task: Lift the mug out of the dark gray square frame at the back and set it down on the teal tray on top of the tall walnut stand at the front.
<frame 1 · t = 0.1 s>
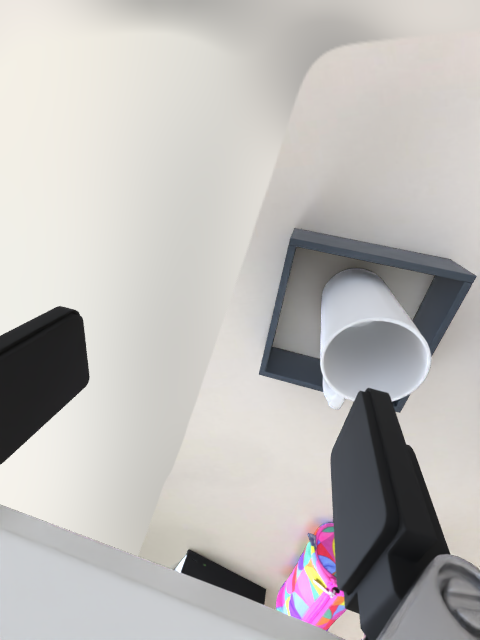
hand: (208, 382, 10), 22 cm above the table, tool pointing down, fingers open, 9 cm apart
dark gray square frame: (345, 310, 31), on the table
pencil case: (319, 551, 50), on the table
disc drive: (208, 586, 65), on the table
mug: (345, 309, 31), resting in dark gray square frame
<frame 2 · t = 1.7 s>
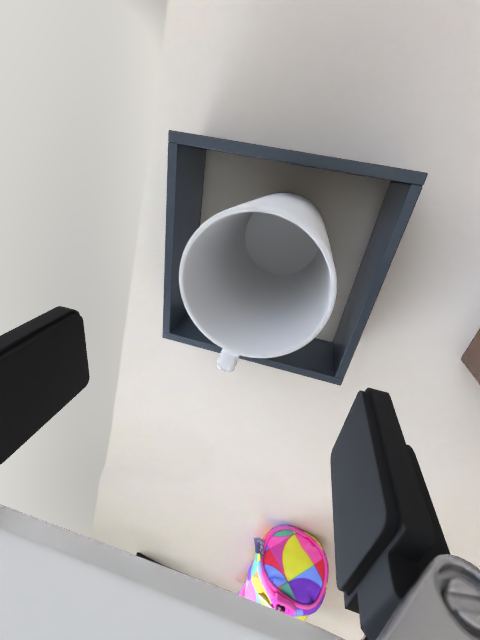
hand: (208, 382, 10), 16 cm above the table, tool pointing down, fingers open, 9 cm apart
dark gray square frame: (275, 255, 24), on the table
pencil case: (276, 557, 44), on the table
mug: (275, 254, 24), resting in dark gray square frame
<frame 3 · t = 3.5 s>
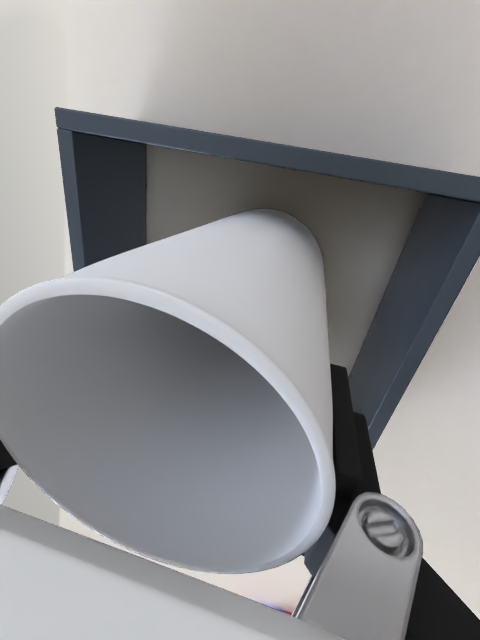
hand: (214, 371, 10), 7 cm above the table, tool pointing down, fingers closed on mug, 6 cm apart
dark gray square frame: (252, 296, 17), on the table
mug: (253, 295, 17), resting in dark gray square frame, touching gripper
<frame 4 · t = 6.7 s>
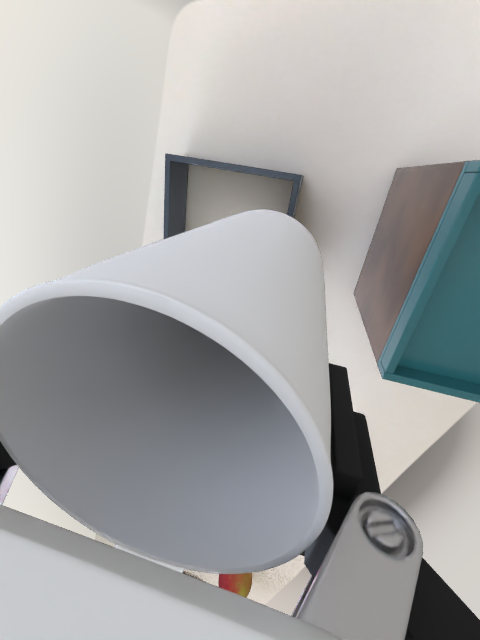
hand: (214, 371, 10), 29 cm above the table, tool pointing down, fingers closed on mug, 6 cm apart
dark gray square frame: (234, 228, 37), on the table
riser: (438, 248, 33), on the table
mug: (252, 295, 17), point 22 cm above the table, touching gripper
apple: (239, 558, 70), on the table
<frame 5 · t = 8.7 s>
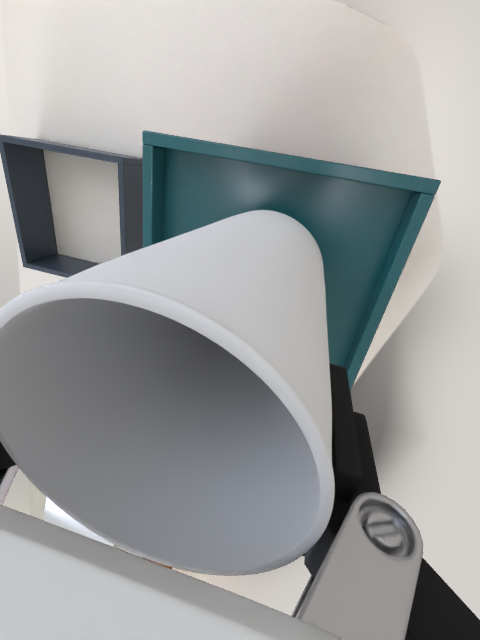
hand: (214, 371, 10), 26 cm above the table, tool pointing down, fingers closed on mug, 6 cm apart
dark gray square frame: (96, 214, 37), on the table
disc drive: (91, 512, 71), on the table
tray: (260, 281, 19), resting on riser
mug: (253, 296, 17), point 19 cm above the table, touching gripper
when the fingers open (24 cm above the table, at t = 9.9 s): mug stays where it is, resting on tray.
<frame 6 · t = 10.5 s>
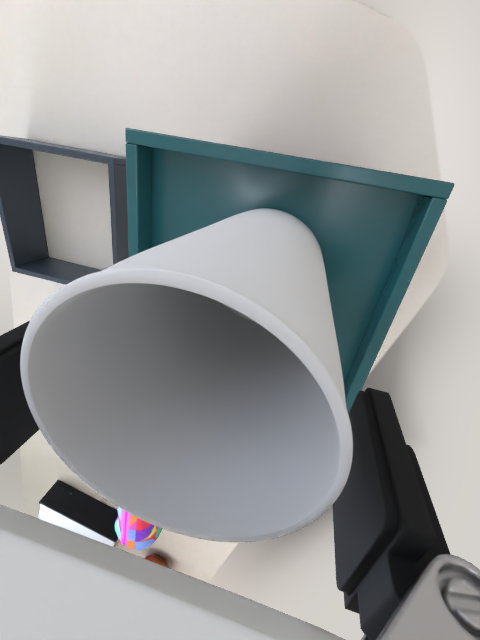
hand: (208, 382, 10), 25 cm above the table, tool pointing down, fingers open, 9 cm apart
dark gray square frame: (88, 216, 36), on the table
pencil case: (154, 470, 55), on the table
disc drive: (86, 520, 70), on the table
tray: (256, 291, 18), resting on riser
mug: (255, 292, 17), point 16 cm above the table, touching tray
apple: (160, 556, 69), on the table
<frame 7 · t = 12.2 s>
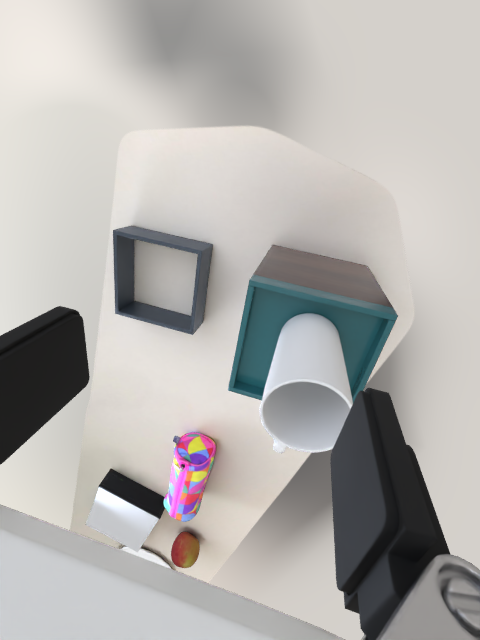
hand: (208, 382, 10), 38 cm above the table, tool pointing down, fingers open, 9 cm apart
dark gray square frame: (168, 276, 51), on the table
pencil case: (195, 459, 70), on the table
disc drive: (130, 503, 84), on the table
plate: (147, 561, 97), on the table
riser: (306, 298, 47), on the table
tray: (302, 348, 33), resting on riser
mug: (302, 349, 33), point 16 cm above the table, touching tray
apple: (191, 533, 84), on the table
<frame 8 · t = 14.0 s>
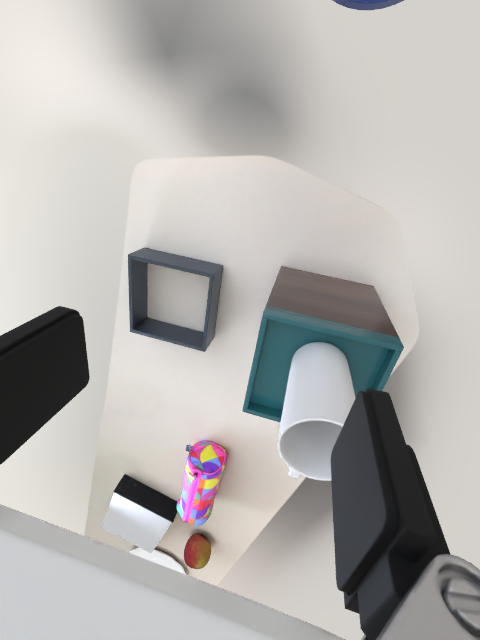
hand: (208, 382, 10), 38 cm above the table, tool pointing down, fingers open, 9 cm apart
dark gray square frame: (180, 294, 53), on the table
pencil case: (206, 466, 72), on the table
disc drive: (143, 506, 87), on the table
plate: (159, 561, 100), on the table
riser: (313, 316, 49), on the table
tray: (312, 373, 35), resting on riser
mug: (312, 374, 35), point 16 cm above the table, touching tray
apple: (202, 535, 87), on the table
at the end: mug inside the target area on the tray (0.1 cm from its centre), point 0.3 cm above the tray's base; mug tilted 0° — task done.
